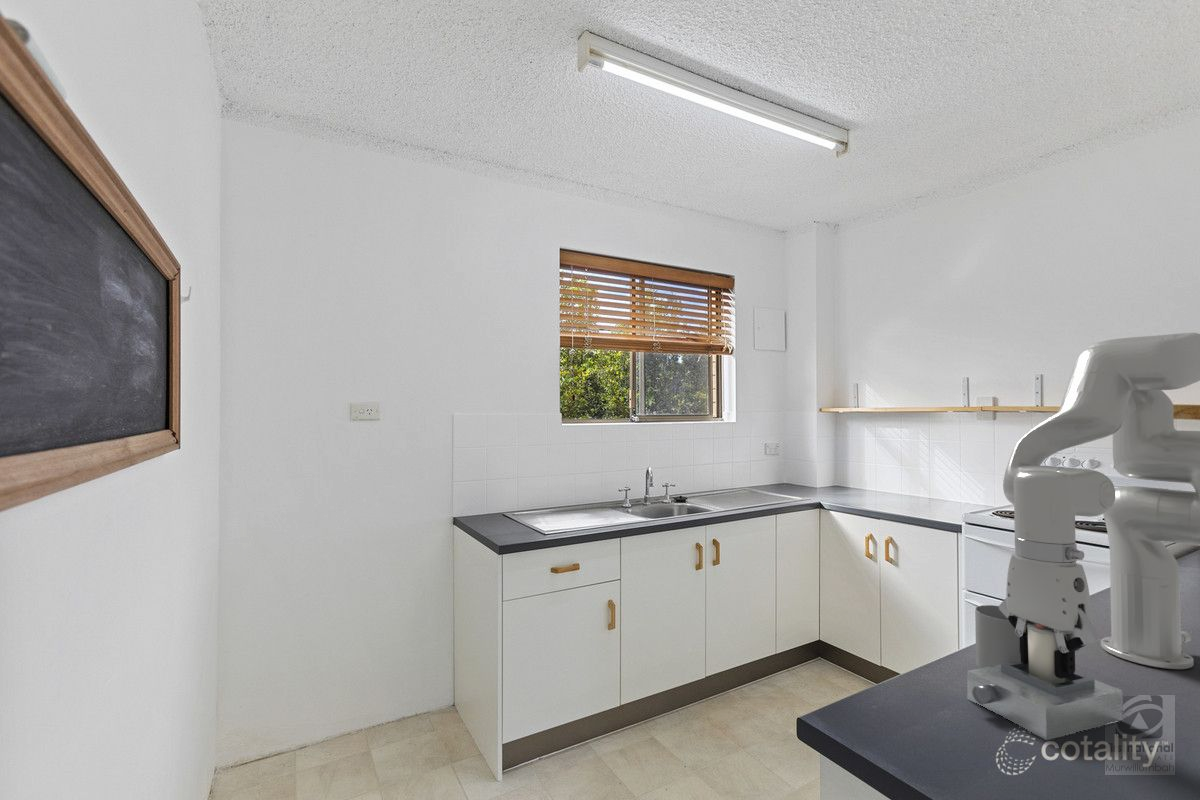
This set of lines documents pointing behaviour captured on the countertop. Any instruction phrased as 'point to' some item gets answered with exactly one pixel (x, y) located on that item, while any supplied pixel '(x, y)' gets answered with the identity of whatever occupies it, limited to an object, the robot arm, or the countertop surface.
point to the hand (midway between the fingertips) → (1046, 667)
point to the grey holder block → (1044, 699)
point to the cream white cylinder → (1042, 652)
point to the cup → (995, 638)
